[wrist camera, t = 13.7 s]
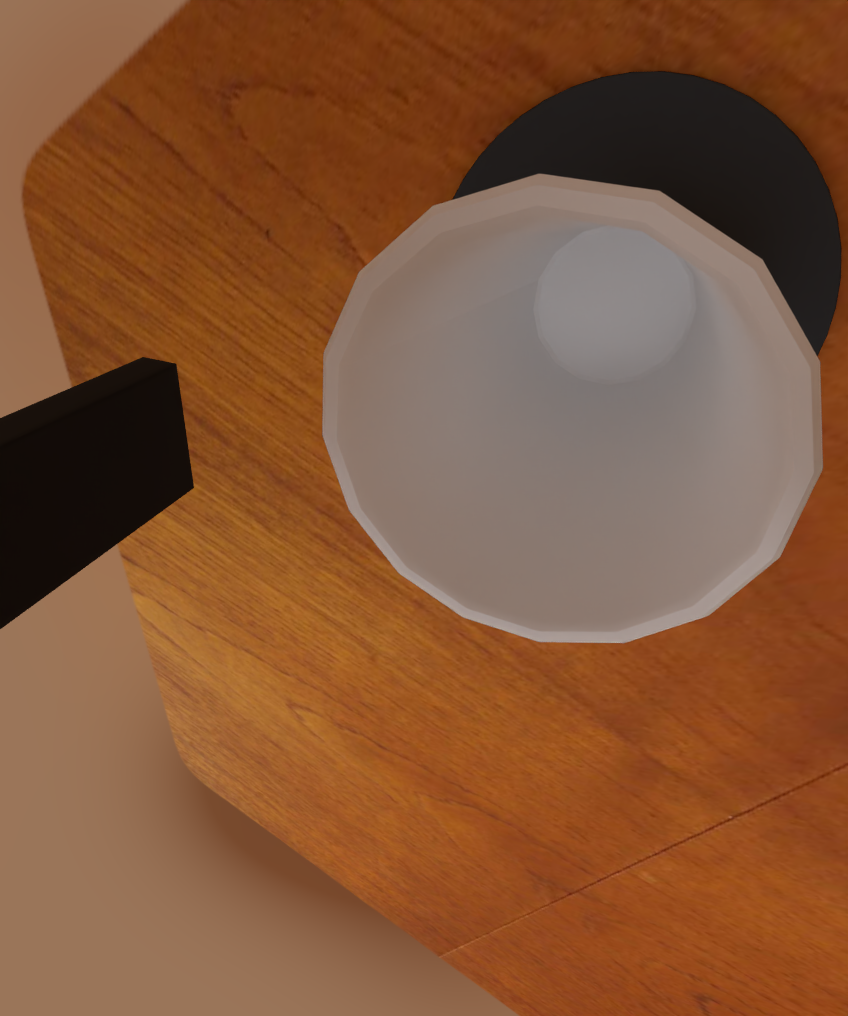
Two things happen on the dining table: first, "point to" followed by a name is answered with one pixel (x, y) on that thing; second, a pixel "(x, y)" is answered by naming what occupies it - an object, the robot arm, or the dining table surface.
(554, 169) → the mat
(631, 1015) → the dining table surface
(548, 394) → the cup
